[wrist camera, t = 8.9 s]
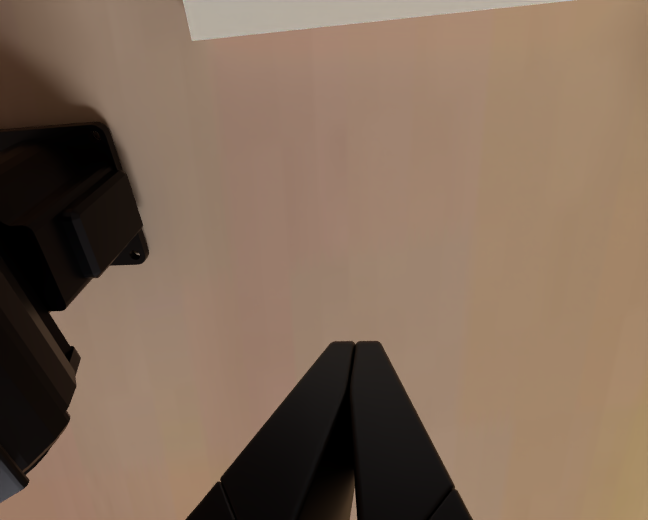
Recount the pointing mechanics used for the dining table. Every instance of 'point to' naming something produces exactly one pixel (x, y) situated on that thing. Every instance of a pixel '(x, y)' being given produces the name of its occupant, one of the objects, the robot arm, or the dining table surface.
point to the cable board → (317, 13)
